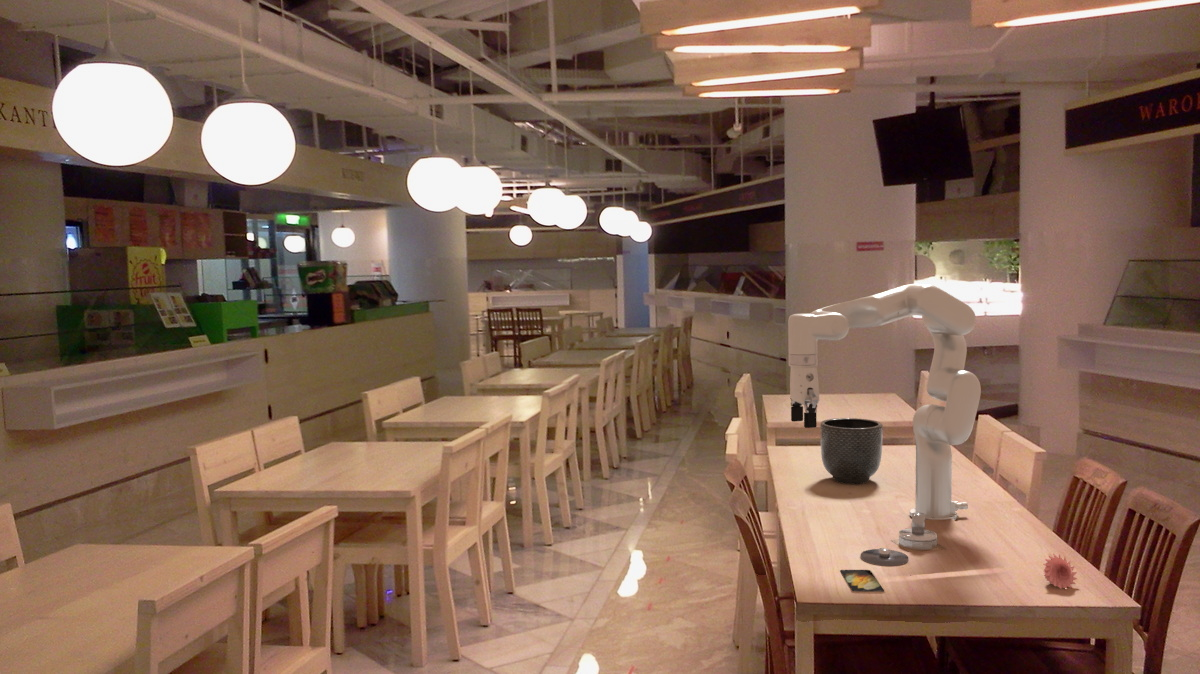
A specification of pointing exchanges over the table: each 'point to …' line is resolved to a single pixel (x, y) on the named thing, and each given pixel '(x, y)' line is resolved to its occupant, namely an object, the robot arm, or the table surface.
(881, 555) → the metal pot lid
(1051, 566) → the flower
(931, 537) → the metal knob with peg
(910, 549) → the stand
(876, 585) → the smartphone
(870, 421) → the planter
